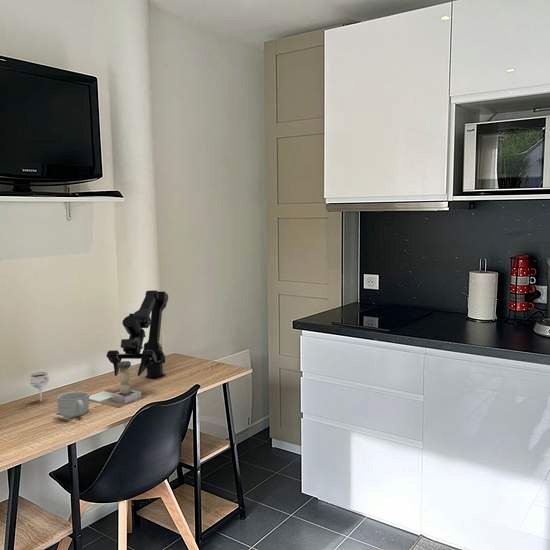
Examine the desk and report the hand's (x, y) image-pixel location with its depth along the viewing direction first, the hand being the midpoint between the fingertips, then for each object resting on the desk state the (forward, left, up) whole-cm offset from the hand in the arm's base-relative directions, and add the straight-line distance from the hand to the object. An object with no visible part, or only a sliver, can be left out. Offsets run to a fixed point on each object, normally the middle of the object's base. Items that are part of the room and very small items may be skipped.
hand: (127, 375), depth 212 cm
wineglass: (+20, -27, -10) cm, 35 cm away
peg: (+2, +1, -9) cm, 9 cm away
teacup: (+22, -3, -10) cm, 24 cm away
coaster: (+5, -10, -9) cm, 14 cm away
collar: (+2, +1, -9) cm, 9 cm away
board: (+3, -5, -10) cm, 12 cm away
